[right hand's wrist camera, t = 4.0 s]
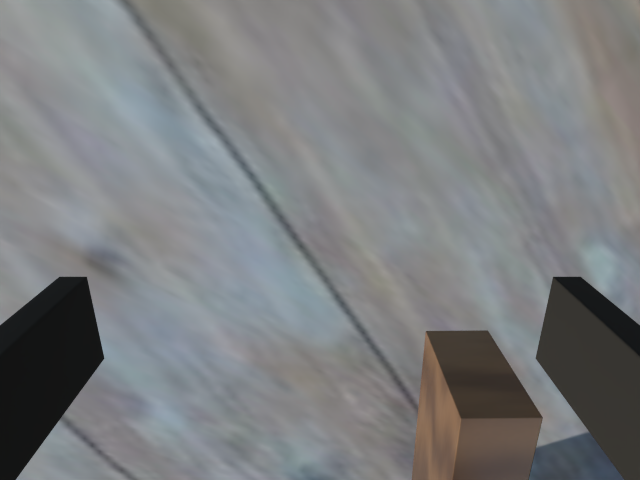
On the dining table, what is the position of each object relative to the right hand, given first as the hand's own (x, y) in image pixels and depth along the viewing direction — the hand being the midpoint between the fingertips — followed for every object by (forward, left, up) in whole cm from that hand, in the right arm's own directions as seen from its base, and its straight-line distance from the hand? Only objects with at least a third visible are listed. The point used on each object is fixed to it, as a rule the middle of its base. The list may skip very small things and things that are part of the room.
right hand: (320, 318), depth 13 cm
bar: (+17, +22, -19) cm, 34 cm away
